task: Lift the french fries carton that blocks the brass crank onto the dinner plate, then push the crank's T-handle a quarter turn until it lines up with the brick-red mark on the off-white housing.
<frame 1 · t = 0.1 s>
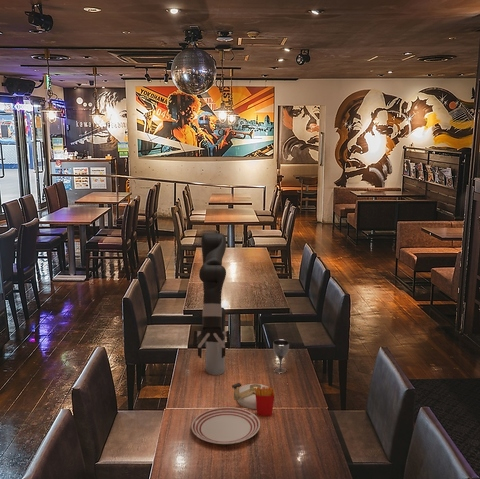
hand: (211, 357, 207), 31 cm above the table, tool tilted 20°, fingers open, 8 cm apart
french fries: (263, 413, 228), on the table
wine glass: (280, 370, 271), on the table
dinner plate: (225, 431, 215), on the table
crank: (246, 387, 235), point 8 cm above the table, hinge at -90.0°
crank housing: (255, 400, 240), on the table
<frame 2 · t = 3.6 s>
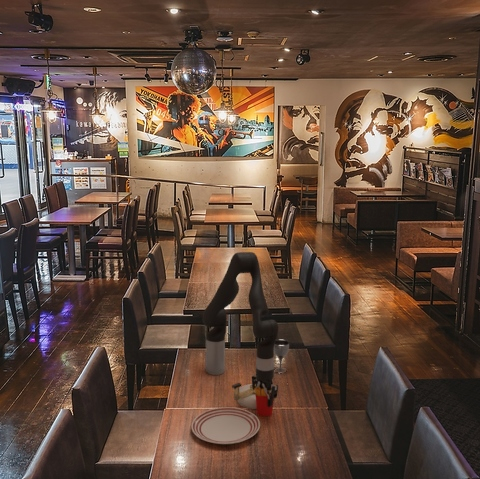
hand: (264, 403, 227), 5 cm above the table, tool pointing down, fingers closed on french fries, 6 cm apart
french fries: (263, 413, 228), on the table, touching gripper
everything else where it was.
when the fingers open (8 cm above the table, at t = 10.1 s): french fries stays where it is, resting on dinner plate.
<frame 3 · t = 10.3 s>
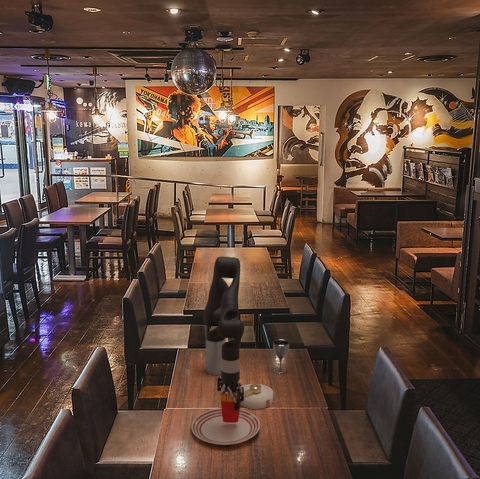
hand: (230, 406, 216), 9 cm above the table, tool pointing down, fingers open, 8 cm apart
french fries: (230, 420, 217), point 3 cm above the table, touching dinner plate
dinner plate: (225, 431, 215), on the table, touching french fries
everything else where it was.
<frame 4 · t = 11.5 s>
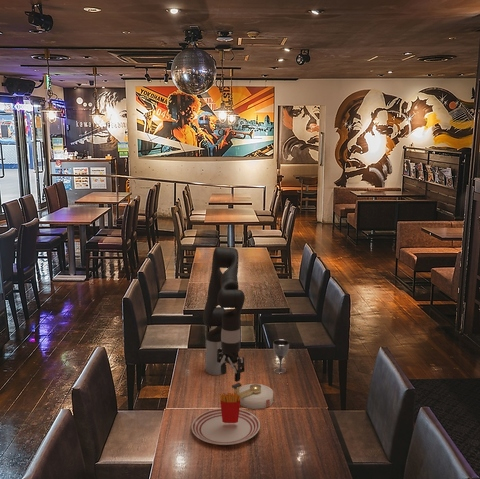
hand: (230, 377, 214), 21 cm above the table, tool pointing down, fingers open, 8 cm apart
nothing on the table moved.
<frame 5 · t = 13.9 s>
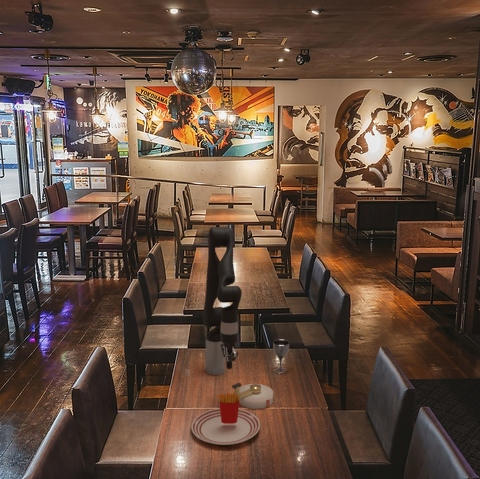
hand: (229, 368, 236), 16 cm above the table, tool pointing down, fingers closed
nothing on the table moved.
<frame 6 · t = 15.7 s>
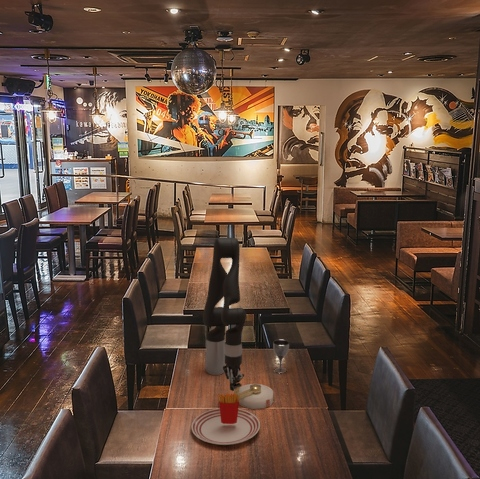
hand: (232, 389, 235), 7 cm above the table, tool pointing down, fingers closed
crank: (246, 387, 235), point 8 cm above the table, hinge at -89.7°, touching gripper
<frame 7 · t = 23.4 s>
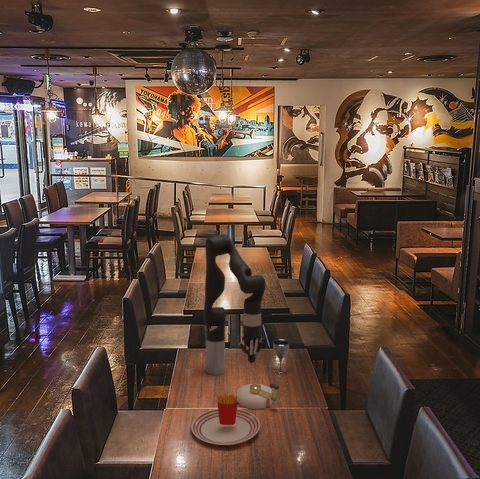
hand: (251, 362, 225), 23 cm above the table, tool pointing down, fingers closed
crank: (264, 388, 235), point 8 cm above the table, hinge at 5.3°
at the end: crank at +5° (first picture: -90°); french fries 1.1 cm from the dinner plate (horizontally); french fries touching dinner plate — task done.
